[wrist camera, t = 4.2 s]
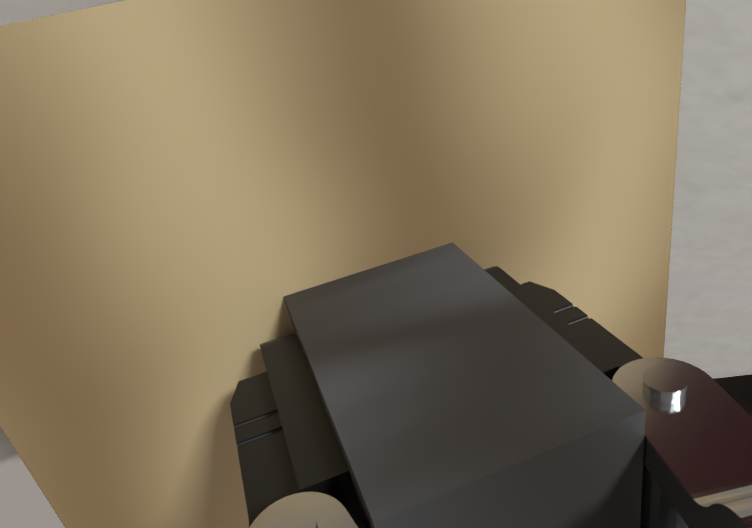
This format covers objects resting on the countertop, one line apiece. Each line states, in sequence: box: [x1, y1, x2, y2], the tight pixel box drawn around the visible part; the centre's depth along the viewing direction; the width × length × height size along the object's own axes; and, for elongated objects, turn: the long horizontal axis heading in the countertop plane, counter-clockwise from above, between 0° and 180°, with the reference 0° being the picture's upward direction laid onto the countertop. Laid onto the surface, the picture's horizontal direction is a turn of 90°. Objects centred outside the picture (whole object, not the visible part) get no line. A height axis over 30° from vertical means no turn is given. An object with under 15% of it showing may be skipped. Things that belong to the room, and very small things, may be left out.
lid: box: [0, 0, 686, 528], centre depth 10 cm, size 13×13×7 cm
